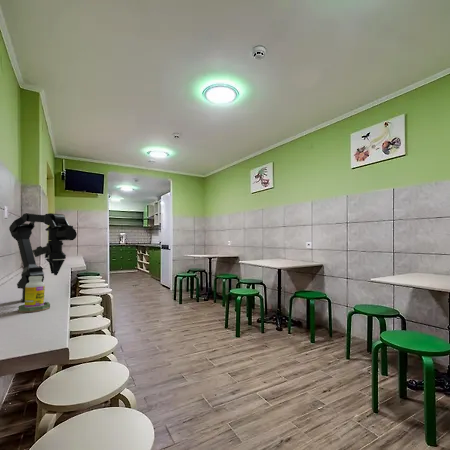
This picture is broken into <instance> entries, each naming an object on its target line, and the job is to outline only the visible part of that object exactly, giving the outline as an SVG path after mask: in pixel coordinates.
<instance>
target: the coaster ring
mask: <svg viewBox="0 0 450 450" xmlns="http://www.w3.org/2000/svg"><path fill="white" fill-rule="evenodd" d="M24 306H25V303H24V304H21V305H18V309H17V312H18V313H20V314H21V313H23V314H24V313H25V314H27V313H36V312H42V311H47V310H49V309H50V308H51V303H50V302H48V301H47V302H46V301H44V305H43V306H38V307H30V308H26V307H24Z"/></svg>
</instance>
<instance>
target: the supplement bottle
mask: <svg viewBox="0 0 450 450" xmlns="http://www.w3.org/2000/svg"><path fill="white" fill-rule="evenodd" d="M45 284H46V283H45V282H44V281H43V282H42V276H30V277H29V283H27V284H26V286H25V302H24V304H25V306H24V307H26V308H30V307H38V306H43V305H44V302H45V291H46V289H45V288H46V285H45Z"/></svg>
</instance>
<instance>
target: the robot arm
mask: <svg viewBox="0 0 450 450" xmlns="http://www.w3.org/2000/svg"><path fill="white" fill-rule="evenodd" d="M27 222H29V223H27ZM35 223H42V224H44V225H47V226H48V227H46V228H45V231H46V232H47V234H48V235H47V237H48V238H47V242H46V245H45V246H41V245H40V246H37V247H36V248H35V249H33V248H32V243H31V240H30V238H31V236H32V233H33V231H32V230H34V228H35ZM8 230H9V233H10V235H11V237H12V238H13V239H14V240H16V242H17V245H18V249H19V254H20V259H21V262H22V265H23V266H22V267H23V270H22V272H21V278H20V279H19V280H18V282H17V283H16V287H17V289H21V290H22V294H21V296H22V298H20V301H21V303H22V302H23V303H25V286H26V284H27V283H29V277H30V276H42V282H44V280H45V272H44V269H43V267H42V266H38V265H37V263H36V259H35V258H38V257H40V256H42V255H44V258H45V260H46V261H47V263H48V264H49V268H50V270H49V271H50V273H51V274H53V276H58V274H59V272H60V270H61V268H62V266H63V265H64V263H65V260H67V259H66V257H67V254H65V253H64V252H63V246H64V242H63V241H74V240H75V239H76V238H77V234H78V233H77V231H76V229H75V228H74V225H72V224H71V225H70V224H69V222H68V220H67V218H66V217H65V214H62V213H52V212H50V213H45V214H35V213H29V212H25V213H23V214H22V215H21V216H20V217H19V218H17V219H15V220H14V221H12V223H11V224H10V226H9V228H8Z"/></svg>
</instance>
